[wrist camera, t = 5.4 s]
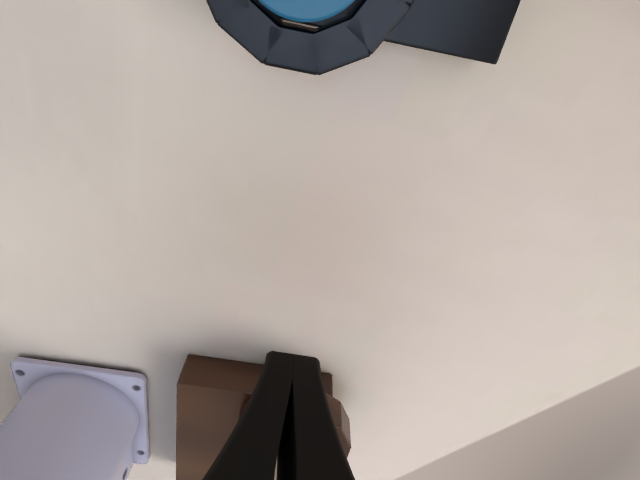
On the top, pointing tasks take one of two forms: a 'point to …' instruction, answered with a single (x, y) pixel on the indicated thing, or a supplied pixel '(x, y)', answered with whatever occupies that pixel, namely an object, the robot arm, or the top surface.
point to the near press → (368, 31)
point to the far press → (223, 410)
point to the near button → (306, 8)
